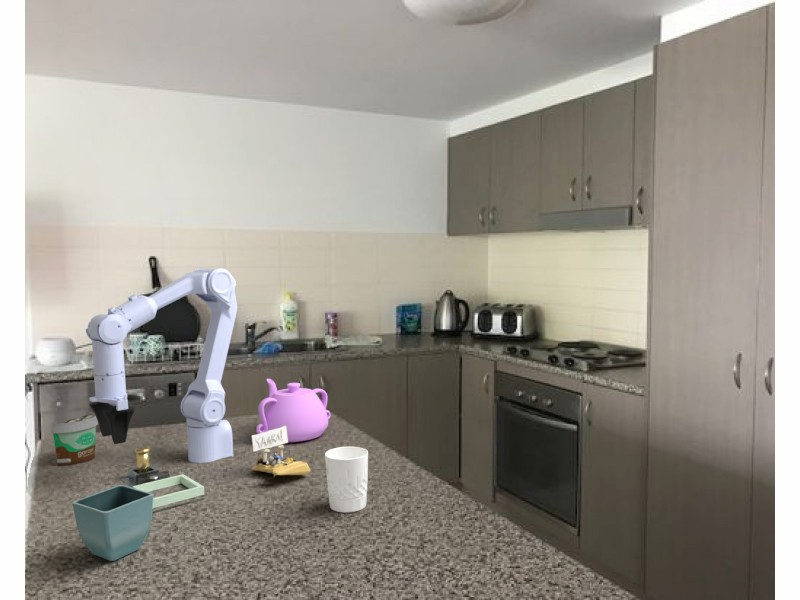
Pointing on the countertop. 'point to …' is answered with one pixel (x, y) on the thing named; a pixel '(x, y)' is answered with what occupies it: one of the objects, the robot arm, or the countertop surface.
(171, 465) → the countertop surface
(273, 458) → the figurine with sign
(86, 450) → the food container
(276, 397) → the teapot
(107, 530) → the flower pot
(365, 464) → the white cup
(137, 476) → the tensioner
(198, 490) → the tray
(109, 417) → the robot arm
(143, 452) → the pin
